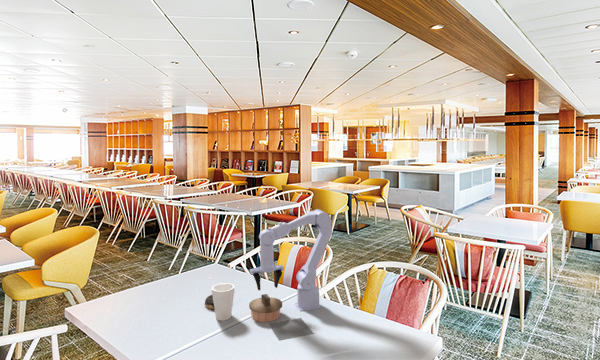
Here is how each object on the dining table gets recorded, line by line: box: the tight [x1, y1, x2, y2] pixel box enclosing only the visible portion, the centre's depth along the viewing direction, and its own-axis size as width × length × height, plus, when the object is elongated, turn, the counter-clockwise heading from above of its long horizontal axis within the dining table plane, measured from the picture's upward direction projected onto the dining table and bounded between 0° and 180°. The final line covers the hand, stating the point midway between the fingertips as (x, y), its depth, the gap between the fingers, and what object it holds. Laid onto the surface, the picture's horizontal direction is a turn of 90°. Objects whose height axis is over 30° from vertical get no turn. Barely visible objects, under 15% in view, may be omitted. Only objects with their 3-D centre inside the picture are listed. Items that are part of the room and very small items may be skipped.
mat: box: [268, 317, 315, 341], centre depth 147 cm, size 14×14×1 cm
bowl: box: [250, 309, 281, 323], centre depth 159 cm, size 12×12×4 cm
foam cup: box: [211, 282, 235, 322], centre depth 157 cm, size 10×9×13 cm
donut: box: [204, 294, 215, 310], centre depth 170 cm, size 11×12×4 cm
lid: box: [248, 293, 283, 313], centre depth 158 cm, size 14×14×4 cm
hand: (267, 288), depth 162 cm, fingers open, 7 cm apart
